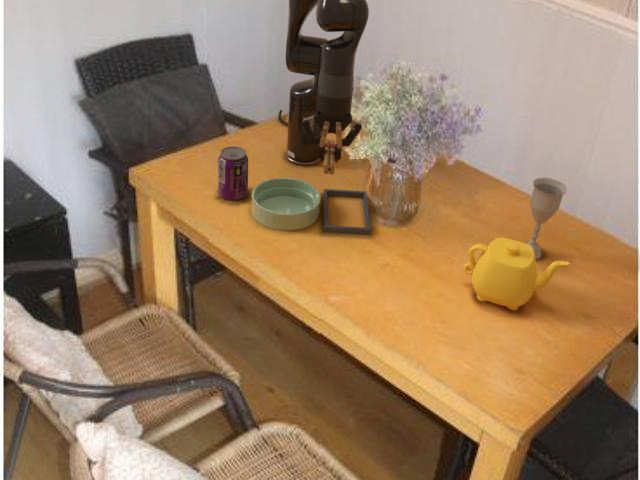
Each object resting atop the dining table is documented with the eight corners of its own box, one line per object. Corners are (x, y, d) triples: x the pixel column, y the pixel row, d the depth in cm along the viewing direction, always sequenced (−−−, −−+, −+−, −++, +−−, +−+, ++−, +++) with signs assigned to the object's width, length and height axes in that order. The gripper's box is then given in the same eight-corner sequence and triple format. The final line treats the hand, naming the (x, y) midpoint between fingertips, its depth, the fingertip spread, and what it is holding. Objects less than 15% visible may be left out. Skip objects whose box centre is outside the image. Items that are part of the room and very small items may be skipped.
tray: (323, 195, 182) (323, 188, 181) (365, 198, 183) (366, 191, 182) (323, 234, 169) (324, 227, 168) (369, 236, 169) (370, 229, 168)
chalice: (547, 248, 171) (568, 182, 160) (544, 264, 166) (566, 197, 155) (516, 240, 172) (534, 174, 162) (512, 256, 167) (531, 189, 157)
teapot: (467, 264, 163) (478, 217, 156) (557, 289, 158) (573, 242, 151) (453, 300, 153) (464, 251, 145) (550, 329, 148) (567, 280, 140)
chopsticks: (323, 148, 172) (324, 138, 170) (334, 148, 172) (335, 139, 170) (323, 173, 162) (324, 164, 160) (334, 174, 162) (335, 165, 160)
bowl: (253, 193, 181) (254, 175, 178) (318, 196, 182) (320, 179, 179) (248, 230, 168) (249, 212, 165) (319, 234, 169) (320, 216, 166)
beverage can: (246, 204, 177) (246, 161, 170) (216, 202, 177) (216, 158, 170) (249, 188, 183) (249, 146, 176) (220, 186, 182) (220, 144, 175)
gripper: (367, 84, 160) (359, 154, 170) (303, 79, 159) (299, 150, 170) (368, 99, 154) (359, 170, 164) (302, 94, 153) (297, 166, 163)
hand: (329, 159), depth 167 cm, fingers closed on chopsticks, 2 cm apart
